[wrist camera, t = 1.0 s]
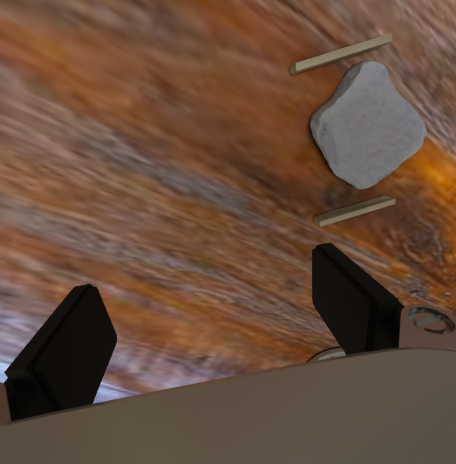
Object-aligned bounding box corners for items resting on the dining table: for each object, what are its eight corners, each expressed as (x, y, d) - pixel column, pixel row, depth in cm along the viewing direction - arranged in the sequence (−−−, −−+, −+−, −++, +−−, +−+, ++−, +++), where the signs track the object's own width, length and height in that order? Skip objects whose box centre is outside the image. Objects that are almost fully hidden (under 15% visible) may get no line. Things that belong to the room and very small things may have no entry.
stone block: (347, 190, 34) (416, 132, 30) (362, 202, 30) (444, 138, 26) (290, 129, 31) (358, 56, 27) (297, 134, 27) (379, 48, 23)
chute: (495, 166, 33) (522, 169, 30) (313, 221, 33) (323, 229, 31) (518, -4, 26) (555, -21, 23) (288, 68, 26) (299, 60, 24)
